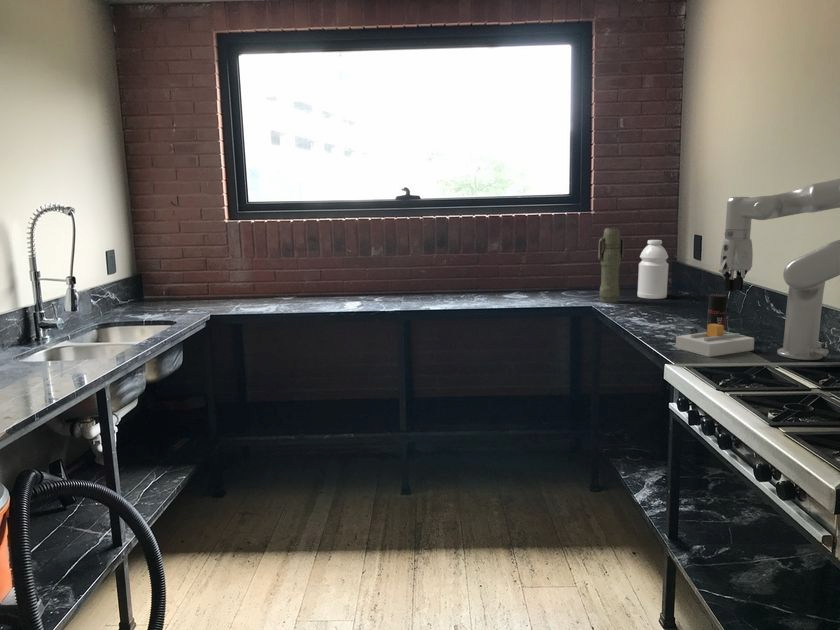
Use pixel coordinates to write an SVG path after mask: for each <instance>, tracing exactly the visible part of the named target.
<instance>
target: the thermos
mask: <svg viewBox="0 0 840 630" xmlns="http://www.w3.org/2000/svg"><path fill="white" fill-rule="evenodd" d="M602 235H603V236H602V237H601V238H600V239H598V254H597V255H598V256H597V258H598V260H599V261H600V266H601V276H600V277H601V280H600V282H601V283H600V287H599V302H600V303H601V304H602V303H603V304H617V303H619V297H620V286H619V279H620V278H619V277H620V275H619V274H620V266H621V261H622V260H624V254H625V253H624V251H625V249H624V248H625V240H624V238H623V237H621V233H620V228H618V227H610V226H609V227H606V228H604V230H603V233H602Z"/></svg>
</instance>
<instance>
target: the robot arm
mask: <svg viewBox="0 0 840 630" xmlns="http://www.w3.org/2000/svg"><path fill="white" fill-rule="evenodd" d="M839 208H840V178H837V179H832V180H827V181H821V182H818V183H811V184H810V185H807V186H805V187H802V188H800V189H796V190H793V191H786V192H782V193H778V194H772V195H760V196H754V197H750V196H732V197H729V198H728V199H727V202H726V214H725V230H724V239H723V242H722V246H721V253H720V260H719V261H720V264H719V265H720V267H719V269H718V272H719V273H720V274H722V276H723V279H724V291H725V292H726V291H727V292H730V293H731V292H734V291H741V292H742V291H743V288H744V279H746V275H747V273H748V272H749V271H751V270H752V267H753V260H754V259H753V258H754V257H753V256H754V255H753V254H754V253H753V242H752V241H753V240H752V239H751V231H752V220H756V221H767V220H774V219H779V218H783V217H784V218H785V217H788V216H794V215H799V214H805V213H809V214H810V213H812V214H813V213H817V212H823V211H828V210H834V209H839ZM782 274H783V280H784V282H785V284H787V286H788V293H787V300H786V301H787V302H786V311H785V312H786V313H785V322H784V333H783V334H784V335H783V345H782V347H781V348H778V349H777V352H776V353H777V355H779V356H780V357H784V358H788V359H793V360H800V361H801V360H802V361H815V360H821V359H823V357H827V356H828V354H829V352H830V351H829V349H827V348H823V347H822V343H820V342H819V338H820V328H821V327H820V326H821V316H822V306H823V300H824V291H825V285H826V282H827V281H829V280H832V279H834V278H836V277H838V276H840V239H837V240H835V241H832V242H830V243H828V244H827V243H826V244H825V245H822V246H821V247H819V248H816V249H814V250H812V251H811V252H807V253H806V254H803V255H802V256H799V257H797V258H795V259H793V260H791V261H790V262H788V264H786V265H785V267H784V270H783V273H782ZM734 276H735V277H734Z"/></svg>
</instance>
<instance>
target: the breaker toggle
mask: <svg viewBox="0 0 840 630" xmlns="http://www.w3.org/2000/svg"><path fill="white" fill-rule="evenodd" d="M706 332H707V336H708V337H713V336H721V335H723V334H724V326H723V325H719V324H708V327H707V326H706Z"/></svg>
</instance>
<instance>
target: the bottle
mask: <svg viewBox="0 0 840 630" xmlns="http://www.w3.org/2000/svg"><path fill="white" fill-rule="evenodd" d="M662 244H663V241H662V240H661V239H648V240H647V245H646V246H645V247H644V248H643V250H642V251H641V253H640V255H639V258H640V259H641V261H640V262H639V263H638V276H637V277H638V278H637V293H636V295H637V297H638V298H641V299H651V300H652V299H655V300H656V299H657V300H658V299H666V298H667V297H668V296H667V295H668V281H669V280H668V278H669V277H668V276H669V265H670V264H669V263H668V262H667V260H668V258H669V255H668V251H667V250H666V249H665V247H664V246H662Z"/></svg>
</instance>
